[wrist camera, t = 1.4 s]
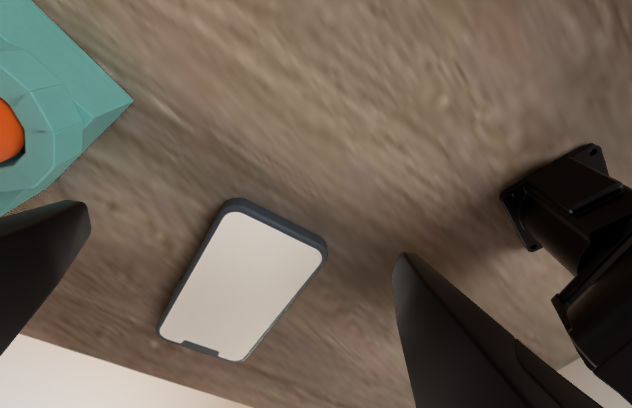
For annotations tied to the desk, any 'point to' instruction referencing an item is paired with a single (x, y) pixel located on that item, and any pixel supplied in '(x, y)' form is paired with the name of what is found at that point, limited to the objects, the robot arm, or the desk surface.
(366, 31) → the desk surface
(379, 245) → the desk surface
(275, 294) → the phone case
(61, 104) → the cap block
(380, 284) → the desk surface
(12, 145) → the orange short cylinder
